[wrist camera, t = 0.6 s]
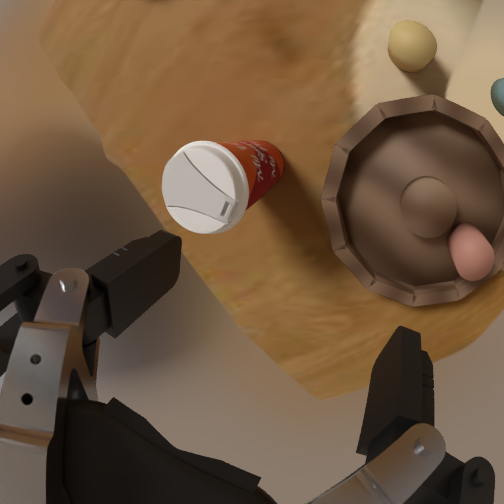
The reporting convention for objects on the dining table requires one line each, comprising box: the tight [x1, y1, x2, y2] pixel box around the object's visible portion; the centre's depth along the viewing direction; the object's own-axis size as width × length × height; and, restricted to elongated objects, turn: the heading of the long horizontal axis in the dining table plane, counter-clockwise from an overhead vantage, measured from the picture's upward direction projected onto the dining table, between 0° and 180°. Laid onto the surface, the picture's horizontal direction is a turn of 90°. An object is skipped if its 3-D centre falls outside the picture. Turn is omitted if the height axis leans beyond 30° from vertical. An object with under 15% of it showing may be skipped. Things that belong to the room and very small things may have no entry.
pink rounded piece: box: [447, 222, 495, 281], centre depth 25 cm, size 4×4×5 cm
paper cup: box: [162, 141, 284, 234], centre depth 29 cm, size 8×8×14 cm
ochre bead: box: [388, 20, 437, 72], centre depth 21 cm, size 4×4×5 cm
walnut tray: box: [321, 94, 504, 307], centre depth 27 cm, size 22×22×3 cm
